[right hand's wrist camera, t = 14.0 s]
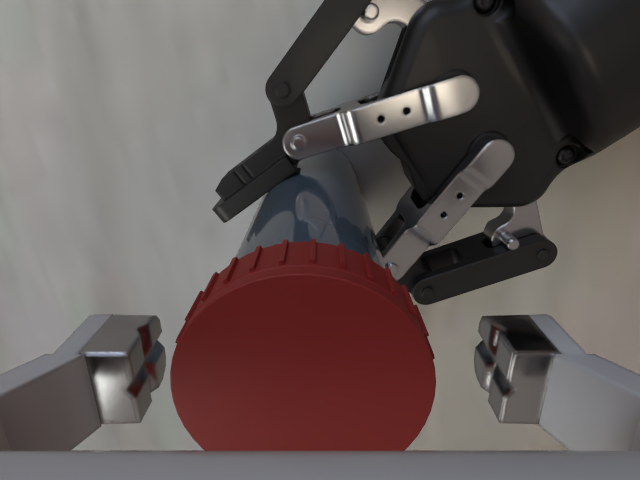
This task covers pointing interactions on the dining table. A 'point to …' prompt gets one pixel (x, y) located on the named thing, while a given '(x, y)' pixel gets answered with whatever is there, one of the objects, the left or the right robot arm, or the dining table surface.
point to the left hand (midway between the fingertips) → (263, 257)
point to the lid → (303, 355)
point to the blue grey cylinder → (315, 209)
